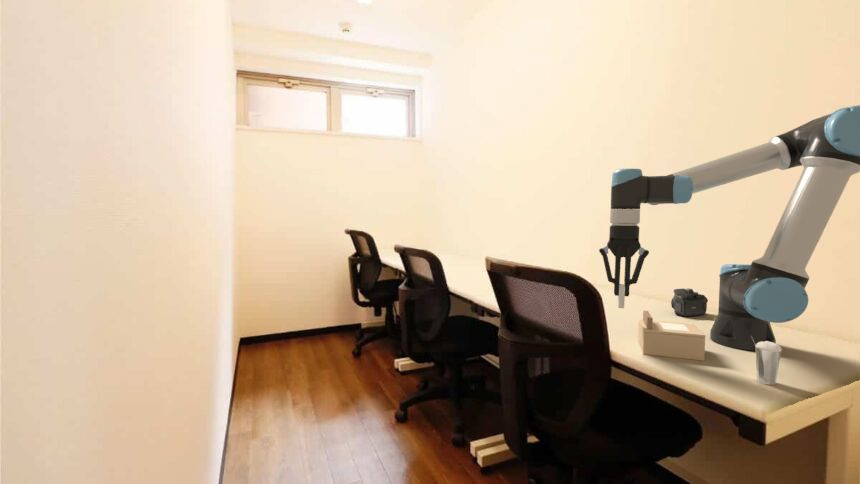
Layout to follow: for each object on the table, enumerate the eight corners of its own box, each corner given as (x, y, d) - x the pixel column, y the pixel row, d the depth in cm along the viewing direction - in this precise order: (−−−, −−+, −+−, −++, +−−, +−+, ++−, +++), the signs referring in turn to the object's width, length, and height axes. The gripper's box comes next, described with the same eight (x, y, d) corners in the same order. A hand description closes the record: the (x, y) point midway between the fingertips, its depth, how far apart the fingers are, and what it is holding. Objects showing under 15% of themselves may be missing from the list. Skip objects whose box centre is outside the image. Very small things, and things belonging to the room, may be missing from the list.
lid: (694, 326, 113) (695, 313, 113) (705, 337, 103) (705, 323, 103) (638, 321, 118) (639, 309, 118) (643, 331, 108) (644, 318, 108)
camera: (679, 309, 159) (680, 284, 158) (708, 314, 151) (710, 287, 150) (665, 314, 150) (666, 288, 149) (696, 320, 143) (697, 292, 142)
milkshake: (749, 375, 94) (751, 333, 93) (779, 381, 91) (781, 338, 90) (748, 381, 90) (750, 338, 90) (780, 388, 87) (782, 343, 86)
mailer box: (693, 347, 114) (694, 326, 113) (704, 360, 103) (705, 337, 103) (638, 341, 119) (638, 321, 118) (643, 354, 109) (643, 332, 108)
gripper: (648, 224, 114) (644, 306, 116) (599, 223, 119) (595, 302, 121) (652, 225, 107) (648, 312, 109) (599, 224, 112) (596, 307, 114)
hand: (620, 307), depth 115 cm, fingers closed
